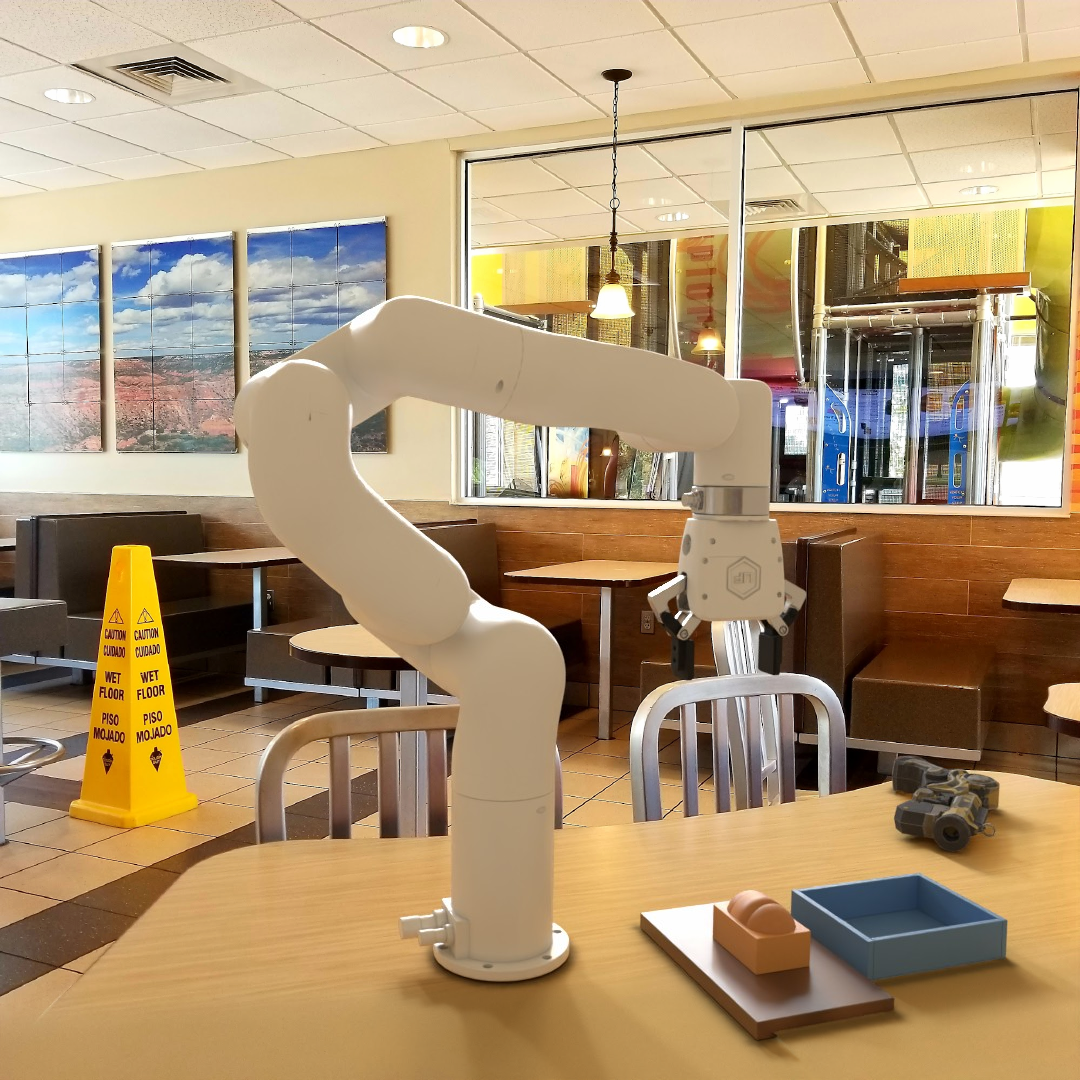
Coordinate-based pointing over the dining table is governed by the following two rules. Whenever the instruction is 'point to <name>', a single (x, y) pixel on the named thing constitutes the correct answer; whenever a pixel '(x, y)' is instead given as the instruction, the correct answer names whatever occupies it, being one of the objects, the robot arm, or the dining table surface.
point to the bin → (899, 925)
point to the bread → (761, 933)
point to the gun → (943, 802)
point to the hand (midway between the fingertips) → (726, 675)
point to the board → (764, 977)
